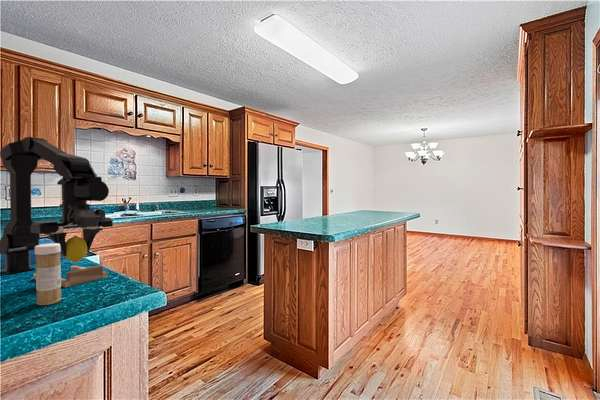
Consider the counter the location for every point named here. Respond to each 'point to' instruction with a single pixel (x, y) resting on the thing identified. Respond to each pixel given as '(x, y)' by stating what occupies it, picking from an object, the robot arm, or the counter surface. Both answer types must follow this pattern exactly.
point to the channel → (82, 275)
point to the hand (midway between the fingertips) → (75, 254)
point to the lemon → (76, 249)
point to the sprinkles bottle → (48, 273)
